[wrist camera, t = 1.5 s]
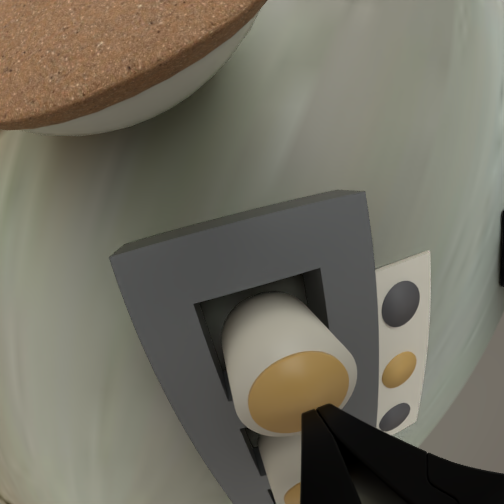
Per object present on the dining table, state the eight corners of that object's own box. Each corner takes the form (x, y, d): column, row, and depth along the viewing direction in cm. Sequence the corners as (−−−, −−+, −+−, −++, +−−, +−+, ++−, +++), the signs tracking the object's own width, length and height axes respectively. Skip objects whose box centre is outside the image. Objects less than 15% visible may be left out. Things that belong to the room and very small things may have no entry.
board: (337, 189, 13) (364, 191, 11) (357, 473, 19) (368, 492, 17) (124, 244, 12) (108, 257, 10) (249, 509, 18) (254, 530, 16)
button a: (306, 279, 12) (357, 322, 8) (318, 358, 13) (360, 414, 9) (209, 307, 11) (218, 367, 7) (234, 384, 12) (252, 453, 8)
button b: (324, 401, 14) (359, 456, 10) (329, 443, 15) (356, 492, 11) (250, 425, 13) (268, 489, 9) (265, 464, 14) (283, 518, 10)
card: (426, 250, 15) (431, 252, 15) (414, 419, 19) (417, 422, 18) (358, 275, 15) (363, 277, 14) (363, 446, 18) (366, 449, 18)
